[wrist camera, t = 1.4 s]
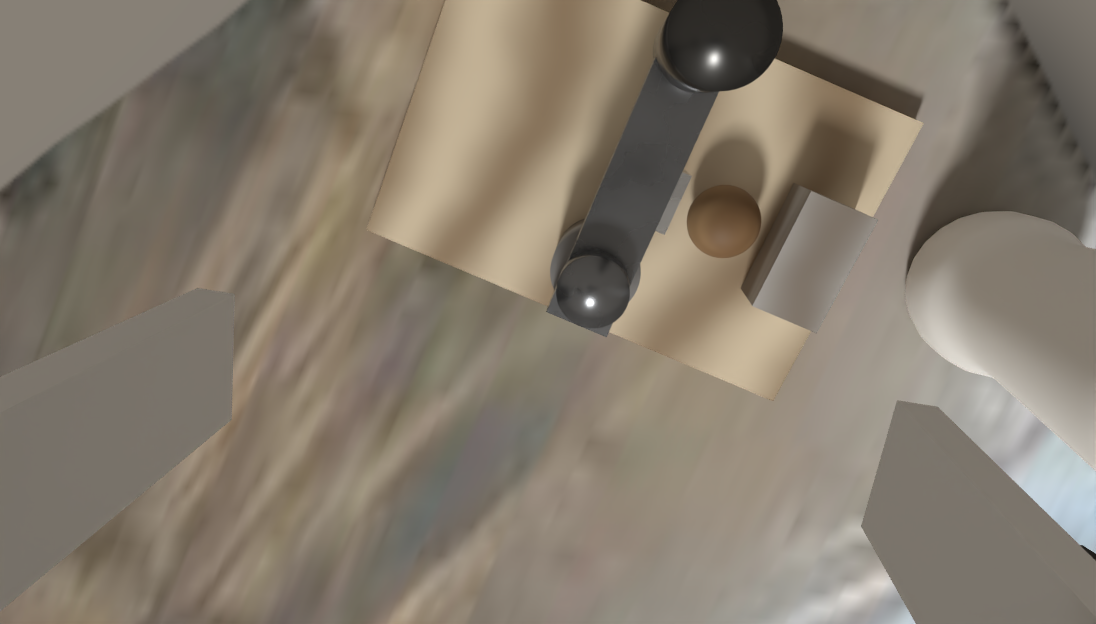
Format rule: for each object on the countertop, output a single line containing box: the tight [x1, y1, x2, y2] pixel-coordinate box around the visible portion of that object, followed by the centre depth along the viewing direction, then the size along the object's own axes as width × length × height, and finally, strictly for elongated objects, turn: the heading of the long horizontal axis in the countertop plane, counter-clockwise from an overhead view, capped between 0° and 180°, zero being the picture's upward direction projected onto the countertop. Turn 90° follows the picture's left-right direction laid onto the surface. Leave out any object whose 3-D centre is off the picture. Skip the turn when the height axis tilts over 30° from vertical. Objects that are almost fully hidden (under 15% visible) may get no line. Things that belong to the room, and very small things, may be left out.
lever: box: [546, 0, 783, 337], centre depth 32 cm, size 4×15×14 cm, turn 157°
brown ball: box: [687, 185, 761, 258], centre depth 38 cm, size 4×4×4 cm
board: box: [366, 0, 924, 401], centre depth 38 cm, size 24×16×5 cm, turn 68°
